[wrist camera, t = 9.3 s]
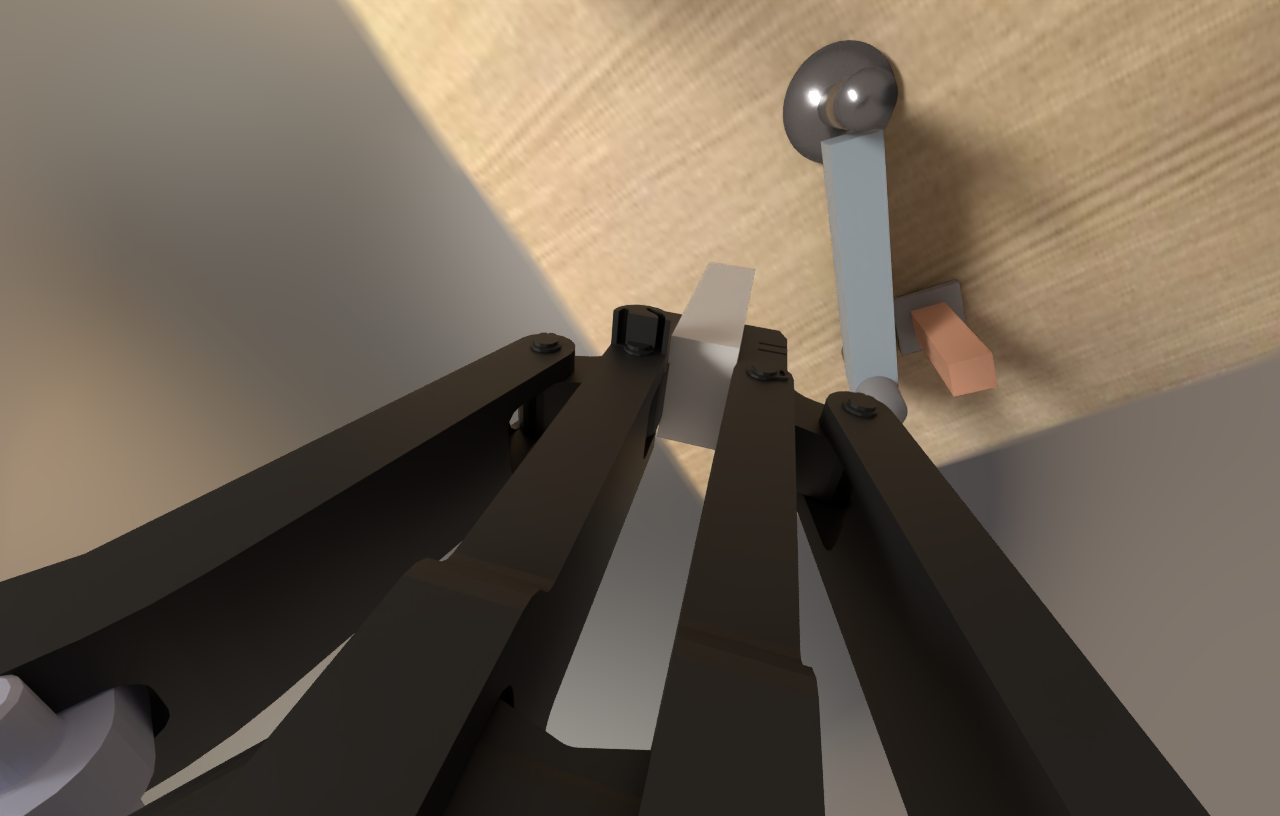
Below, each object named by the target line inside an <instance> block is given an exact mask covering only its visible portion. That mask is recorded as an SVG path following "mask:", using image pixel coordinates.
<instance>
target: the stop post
mask: <svg viewBox="0 0 1280 816" xmlns="http://www.w3.org/2000/svg"><path fill="white" fill-rule="evenodd" d="M893 304H894V321H895V328H896V333H897V337H898V342H899V346H900V351H901V353H902V355H906V354H909V353H913V352H917V351H921V350H924V352H925V353H926V355H927V356H928V358H929V359H930V361H931V362H932V364H933V365H934V367H935V369H936V370H937V372H938V373H939V375H940V376H941V378H942V379H943V381H944V382H945V384H946V385H947V387H948V389H949V390H950V392H951V393H952V395H953V396H954V397H955V396H959V395H964V394H968V393H973V392H977V391H982V390H986V389H990V388H995V387H997V383H996V375H995V368H994V361H993V354H992V352H991V351H990V350H989V349H988V348H987V347H986V346H985V345H984V344H983V343H982V342H981V341H980V340H979V338H978V337H977V336H976V335H975V334H974V333H973V332H972V331H971V330H970V329H969V328H968V327H967V326H966V320H965V314H964V308H963V301H962V295H961V289H960V283H959V281H958V280H957V279H956V280H953V281H950V282H946V283H943V284H940V285H936V286H933V287H930V288H927V289H923V290H920V291H917V292H913V293H910V294H907V295H904V296H900V297H897V298H894V299H893Z"/></svg>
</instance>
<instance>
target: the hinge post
mask: <svg viewBox="0 0 1280 816" xmlns="http://www.w3.org/2000/svg"><path fill="white" fill-rule="evenodd" d="M897 95H898V90H897V84H896V81H895V78H894V74H893V71H892V68H891V66H890V64H889V62H888V61H887V59H886V58H885V56H884V55H883V54H882V53H881V52H880V51H879V50H877V49H876V48H875V47H873V46H871V45H869V44H867V43H864V42H860V41H851V40H847V41H839V42H836V43H832V44H830V45H828V46H825V47H823V48H822V49H820V50H818V51H817V52H815V53H814V54H813V55H811V56H810V57H809V58H808V59H807V60H806V61H805V62H804V63H803V64H802V65H801V67H800V68H799V69H798V71H797V72H796V74H795V75H794V77H793V79H792V81H791V82H790V84H789V87H788V90H787V92H786V96H785V100H784V106H783V122H784V127H785V131H786V134H787V136H788V138H789V140H790V142H791V144H792V145H793V147H794V148H795V149H796V150H797V151H798V152H799V153H800V154H801V155H803V156H804V157H806V158H808V159H810V160H812V161H815V162H819V163H823V158H822V149H821V141H824V140H827V139H831V138H834V137H837V136H841V135H844V134H848V133H851V132H854V131H856V132H865V131H869V130H872V129H880V130H884V128H885V127H886V125H887V123H888V121H889V119H890V116H891V114H892V111H893V109H894V107H895V104H896V101H897Z"/></svg>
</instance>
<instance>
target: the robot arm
mask: <svg viewBox="0 0 1280 816" xmlns="http://www.w3.org/2000/svg"><path fill="white" fill-rule="evenodd" d="M754 274H755V269H751V268H745V267H739V266H733V265H727V264H721V263H715V262H709V264H708V266H707V268H706V270H705V272H704V274H703V276H702V278H701V280H700V282H699V284H698V286H697V288H696V290H695V291H694V293H693V295H692V297H691V299H690V301H689V303H688V305H687V307H686V309H685V311H684V313H683V315H682V314H677V313H671V312H666V311H663V310H661V309H659V308H655V307H651V306H645V305H625V306H621V307H618V308H616V309H615V310H614V312H613V325H612V339H611V345H610V346H609V347H608V349H607V350H606V351H605V353H604V354H603V355H602V356H594V357H589V356H575V344H574V343H573V342H572V341H571V340H570V339H568V338H565V337H563V336H559V335H556V334H554V333H549V334H547V333H540V334H535V335H529V336H526V337H523V338H521V339H519V340H517V341H515V342H513V343H511V344H509V345H507V346H505V347H503V348H501V349H499V350H497V351H495V352H493V353H491V354H489V355H487V356H485V357H483V358H481V359H479V360H477V361H474V362H473V363H471V364H468V365H466V366H464V367H462V368H460V369H458V370H456V371H455V372H452V373H450V374H448V375H447V376H444V377H442V378H440V379H438V380H436V381H434V382H432V383H430V384H428V385H426V386H424V387H422V388H420V389H418V390H416V391H414V392H412V393H410V394H408V395H406V396H404V397H402V398H400V399H397V400H395V401H393V402H391V403H389V404H387V405H385V406H383V407H381V408H380V409H377V410H375V411H373V412H371V413H369V414H367V415H365V416H363V417H361V418H359V419H357V420H355V421H353V422H351V423H349V424H347V425H345V426H343V427H341V428H339V429H337V430H335V431H333V432H331V433H329V434H327V435H325V436H322V437H321V438H318V439H317V440H314V441H312V442H310V443H309V444H306V445H304V446H302V447H300V448H298V449H296V450H294V451H292V452H290V453H288V454H286V455H284V456H282V457H280V458H278V459H276V460H274V461H272V462H270V463H268V464H266V465H264V466H262V467H260V468H258V469H256V470H254V471H252V472H250V473H248V474H246V475H244V476H241V477H239V478H238V479H236V480H233V481H231V482H229V483H227V484H225V485H223V486H221V487H219V488H217V489H215V490H213V491H211V492H209V493H207V494H205V495H203V496H201V497H199V498H197V499H195V500H193V501H191V502H189V503H187V504H185V505H183V506H181V507H179V508H177V509H175V510H173V511H171V512H168V513H166V514H164V515H163V516H160V517H158V518H156V519H154V520H153V521H150V522H148V523H146V524H144V525H142V526H140V527H138V528H136V529H134V530H132V531H130V532H128V533H126V534H124V535H122V536H120V537H118V538H116V539H114V540H112V541H110V542H108V543H106V544H104V545H102V546H100V547H98V548H96V549H94V550H92V551H89V552H87V553H86V554H83V555H80V556H77V557H74V558H71V559H68V560H65V561H62V562H59V563H56V564H53V565H50V566H47V567H44V568H41V569H38V570H35V571H32V572H29V573H26V574H23V575H20V576H17V577H14V578H11V579H8V580H5V581H2V582H0V816H825V806H824V790H823V789H824V788H823V769H822V751H821V732H820V713H819V696H818V688H817V680H816V677H815V674H814V672H813V669H812V667H808V666H805V665H803V664H802V661H801V656H800V629H799V628H800V627H799V586H798V585H799V584H798V542H797V512H798V515H799V518H800V520H801V523H802V526H803V528H804V531H805V534H806V537H807V539H808V542H809V545H810V547H811V550H812V553H813V556H814V559H815V561H816V564H817V567H818V570H819V572H820V575H821V578H822V581H823V583H824V586H825V589H826V592H827V594H828V597H829V600H830V603H831V605H832V608H833V611H834V614H835V616H836V618H837V622H838V624H839V627H840V630H841V633H842V635H843V638H844V641H845V644H846V646H847V649H848V652H849V654H850V657H851V660H852V663H853V665H854V668H855V671H856V674H857V676H858V679H859V682H860V685H861V687H862V690H863V693H864V695H865V698H866V701H867V704H868V707H869V709H870V712H871V715H872V717H873V720H874V723H875V726H876V729H877V731H878V734H879V736H880V739H881V742H882V745H883V748H884V751H885V753H886V756H887V759H888V761H889V764H890V767H891V770H892V772H893V775H894V778H895V781H896V783H897V786H898V789H899V791H900V794H901V797H902V800H903V803H904V805H905V808H906V811H907V814H908V816H1210V815H1209V813H1208V812H1207V811H1206V810H1205V808H1204V807H1203V806H1202V805H1201V803H1200V802H1199V801H1198V800H1197V798H1196V797H1195V796H1194V794H1193V793H1192V792H1191V790H1190V789H1189V788H1188V787H1187V785H1186V784H1185V783H1184V782H1183V780H1182V779H1181V778H1180V776H1179V775H1178V774H1177V773H1176V771H1175V770H1174V769H1173V768H1172V766H1171V765H1170V764H1169V763H1168V761H1167V760H1166V759H1165V757H1164V756H1163V755H1162V754H1161V752H1160V751H1159V750H1158V748H1157V747H1156V746H1155V745H1154V743H1153V742H1152V741H1151V740H1150V738H1149V737H1148V736H1147V734H1146V733H1145V732H1144V731H1143V730H1142V728H1141V727H1140V726H1139V725H1138V723H1137V722H1136V721H1135V719H1134V718H1133V717H1132V715H1131V714H1130V713H1129V712H1128V710H1127V709H1126V708H1125V707H1124V705H1123V704H1122V703H1121V702H1120V700H1119V699H1118V698H1117V697H1116V695H1115V694H1114V693H1113V691H1112V690H1111V689H1110V687H1109V686H1108V685H1107V684H1106V682H1105V681H1104V680H1103V679H1102V677H1101V676H1100V675H1099V674H1098V672H1097V671H1096V670H1095V668H1094V667H1093V666H1092V665H1091V663H1090V662H1089V661H1088V660H1087V658H1086V657H1085V656H1084V655H1083V653H1082V652H1081V651H1080V649H1079V648H1078V647H1077V646H1076V644H1075V643H1074V642H1073V640H1072V639H1071V638H1070V637H1069V635H1068V634H1067V633H1066V632H1065V630H1064V629H1063V628H1062V627H1061V625H1060V624H1059V623H1058V621H1057V620H1056V619H1055V618H1054V616H1053V615H1052V614H1051V612H1050V611H1049V610H1048V609H1047V607H1046V606H1045V605H1044V604H1043V602H1042V601H1041V600H1040V598H1039V597H1038V596H1037V595H1036V593H1035V592H1034V591H1033V590H1032V588H1031V587H1030V586H1029V584H1028V583H1027V582H1026V581H1025V579H1024V578H1023V577H1022V576H1021V574H1020V573H1019V572H1018V571H1017V569H1016V568H1015V567H1014V566H1013V564H1012V563H1011V562H1010V560H1009V559H1008V558H1007V556H1006V555H1005V554H1004V553H1003V551H1002V550H1001V549H1000V548H999V546H998V545H997V544H996V543H995V541H994V540H993V539H992V537H991V536H990V535H989V534H988V532H987V531H986V530H985V529H984V528H983V526H982V525H981V523H980V522H979V521H978V520H977V518H976V517H975V516H974V515H973V513H972V512H971V511H970V509H969V508H968V507H967V506H966V504H965V503H964V502H963V501H962V499H961V498H960V497H959V495H958V494H957V493H956V492H955V490H954V489H953V488H952V487H951V485H950V484H949V483H948V481H947V480H946V479H945V478H944V477H943V475H942V474H941V473H940V471H939V470H938V469H937V467H936V466H935V465H934V464H933V462H932V461H931V460H930V459H929V457H928V456H927V455H926V454H925V452H924V451H923V450H922V448H921V447H920V446H919V445H918V443H917V442H916V441H915V440H914V438H913V437H912V436H911V434H910V433H909V432H908V431H907V429H906V428H905V427H904V426H903V424H902V423H901V422H900V420H899V419H898V418H897V417H896V415H895V414H894V413H893V412H892V410H891V409H889V408H888V407H887V406H886V405H885V404H884V403H882V402H880V401H878V400H876V399H875V398H874V397H872V396H870V395H867V396H866V394H864V393H860V392H857V393H855V392H849V391H840V392H835V393H832V394H830V395H829V396H828V397H827V399H826V402H825V405H824V404H822V403H819V402H816V401H813V400H811V399H809V398H807V397H804V396H803V395H801V394H799V393H798V392H796V391H795V390H794V379H793V377H792V375H791V374H790V373H789V372H788V371H787V339H786V338H785V337H784V335H783V334H782V333H781V332H780V331H777V330H771V329H766V328H761V327H755V326H750V325H745V320H746V314H747V309H748V304H749V299H750V294H751V289H752V284H753V279H754ZM517 409H518V417H519V420H518V421H517V422H515V423H514V424H513V425H510V423H509V422H510V419H511V417H512V415H513V413H514V412H515V411H516V410H517ZM658 424H659V428H658V435H657V437H660V438H665V439H669V440H674V441H678V442H683V443H687V444H691V445H696V446H700V447H705V448H709V449H713V450H715V454H714V459H713V463H712V468H711V472H710V477H709V481H708V486H707V491H706V496H705V500H704V505H703V510H702V514H701V519H700V523H699V528H698V533H697V537H696V542H695V547H694V551H693V556H692V561H691V565H690V570H689V574H688V579H687V584H686V588H685V593H684V598H683V602H682V608H681V612H680V616H679V621H678V626H677V631H676V635H675V639H674V644H673V649H672V654H671V658H670V663H669V668H668V673H667V677H666V681H665V686H664V690H663V695H662V700H661V705H660V709H659V714H658V718H657V723H656V728H655V732H654V737H653V742H652V746H651V750H630V749H599V748H598V749H597V748H575V747H571V746H567V745H565V744H563V743H562V742H560V741H559V740H557V739H556V738H554V737H553V736H552V735H550V734H549V733H547V732H546V726H547V722H548V718H549V715H550V711H551V709H552V706H553V703H554V700H555V698H556V695H557V693H558V690H559V688H560V685H561V683H562V680H563V677H564V675H565V672H566V670H567V667H568V664H569V662H570V660H571V657H572V655H573V652H574V649H575V647H576V644H577V642H578V639H579V636H580V634H581V631H582V629H583V626H584V624H585V621H586V619H587V616H588V614H589V611H590V608H591V606H592V604H593V601H594V598H595V596H596V593H597V591H598V588H599V586H600V583H601V581H602V578H603V575H604V573H605V570H606V568H607V565H608V563H609V560H610V558H611V555H612V553H613V550H614V547H615V545H616V542H617V539H618V537H619V535H620V532H621V529H622V527H623V524H624V522H625V519H626V517H627V514H628V512H629V509H630V506H631V504H632V501H633V499H634V496H635V494H636V491H637V489H638V486H639V484H640V481H641V479H642V476H643V473H644V471H645V468H646V466H647V463H648V461H649V458H650V455H651V453H652V450H653V448H654V441H655V434H656V429H657V427H658ZM462 540H463V541H462ZM461 541H462V542H461ZM460 542H461V543H460ZM459 543H460V545H459V546H458V547H457V549H456V550H455V552H454V553H453V554H452V555H451V556H450V557H449V558H448V559H447V560H444V561H442V562H441V561H439V560H440V559H441V558H442V557H444V556H445V555H446V554H447V553H448V552H450V551H451V550H452V549H453V548H454V547H455V546H457V545H458V544H459ZM353 634H354V635H353ZM352 635H353V636H352ZM351 636H352V637H351ZM349 637H351V639H350V640H349V641H348V642H347V643H346V644H345V646H344V647H343V648H342V649H341V651H340V652H339V653H338V654H337V655H336V656H335V658H334V659H333V660H332V661H331V663H330V664H329V665H328V666H327V668H326V669H325V670H324V671H323V672H322V673H321V675H320V676H319V677H318V678H317V679H316V681H315V682H314V683H313V684H312V685H311V687H310V688H309V689H308V690H307V691H306V693H305V694H304V695H303V696H302V697H301V699H300V700H299V701H298V703H297V704H296V705H295V706H294V707H293V708H292V710H291V711H290V712H289V713H288V714H287V716H286V717H285V718H284V719H283V721H282V722H281V723H280V724H279V725H278V726H277V728H276V729H275V730H274V731H273V732H272V734H271V735H270V736H269V737H268V738H267V739H265V740H263V741H262V742H260V743H258V744H256V745H254V746H252V747H251V748H249V749H247V750H245V751H244V752H242V753H240V754H238V755H237V756H235V757H233V758H231V759H229V760H227V761H225V762H224V763H222V764H220V765H218V766H216V767H214V768H213V769H211V770H209V771H207V772H206V773H204V774H202V775H200V776H198V777H196V778H195V779H193V780H191V781H189V782H187V783H185V784H184V785H182V786H180V787H178V788H177V789H175V790H173V791H171V792H169V793H167V794H166V795H164V796H162V797H160V798H158V799H157V800H155V801H153V802H151V803H149V804H148V805H146V806H145V805H144V804H143V802H142V801H141V797H142V796H143V794H144V793H145V792H146V791H148V790H150V789H151V788H153V787H154V786H156V785H158V784H159V783H161V782H163V781H164V780H166V779H167V778H169V777H171V776H173V775H174V774H176V773H177V772H179V771H181V770H182V769H184V768H186V767H187V766H188V765H190V764H191V763H193V762H194V761H196V760H197V759H199V758H200V757H201V756H203V755H204V754H206V753H207V752H209V751H210V750H212V749H213V748H214V747H216V746H217V745H219V744H220V743H222V742H223V741H224V740H226V739H227V738H229V737H230V736H232V735H233V734H234V733H236V732H237V731H238V730H240V728H242V727H243V726H244V725H246V724H247V723H248V722H250V721H251V720H252V719H253V718H255V717H256V716H257V715H258V714H260V713H261V712H262V711H263V710H265V709H266V708H267V707H268V706H270V705H271V704H272V703H273V702H275V701H276V700H277V699H278V698H279V697H281V696H282V695H283V694H284V693H285V692H286V691H288V690H289V689H290V688H291V687H292V686H293V685H295V684H296V683H297V682H298V681H299V680H300V679H301V678H303V677H304V676H305V675H306V674H307V673H309V672H310V671H311V670H312V669H313V668H314V667H316V666H317V665H318V664H319V663H320V662H321V661H322V660H324V659H325V658H326V657H327V656H328V655H330V654H331V653H332V652H333V651H334V650H335V649H337V647H339V646H340V645H341V644H342V643H344V642H345V641H346V640H347V639H348V638H349Z"/></svg>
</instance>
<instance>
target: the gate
mask: <svg viewBox="0 0 1280 816" xmlns="http://www.w3.org/2000/svg"><path fill="white" fill-rule="evenodd" d="M821 149H822V158H823V167H824V177H825V186H826V195H827V204H828V214H829V223H830V232H831V241H832V251H833V260H834V269H835V278H836V288H837V297H838V306H839V315H840V325H841V334H842V343H843V347H842V356H843V360H844V363H845V371H846V377H847V381H848V384H849V388H850V391H851V392H855V393H857V392H860V393H864V394H866V396H867V395H870V396H872V397H874V398H875V399H876V400H878V401H880V402H882V403H884V404H885V405H886V406H887V407H888V408H889V409H891V410H892V412H893V413H894V414H895V415H896V417H897V418H898V419H899V420H900V422H901V423H903V422H904V420H905V419H906V416H907V406H906V404H905V402H904V399H903V397H902V395H901V393H900V391H899V389H898V373H897V356H896V338H895V321H894V304H893V286H892V269H891V252H890V234H889V217H888V200H887V183H886V165H885V148H884V131H883V130H880V129H872V130H869V131H865V132H856V131H854V132H851V133H848V134H844V135H841V136H837V137H834V138H831V139H827V140H824V141H821Z"/></svg>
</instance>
